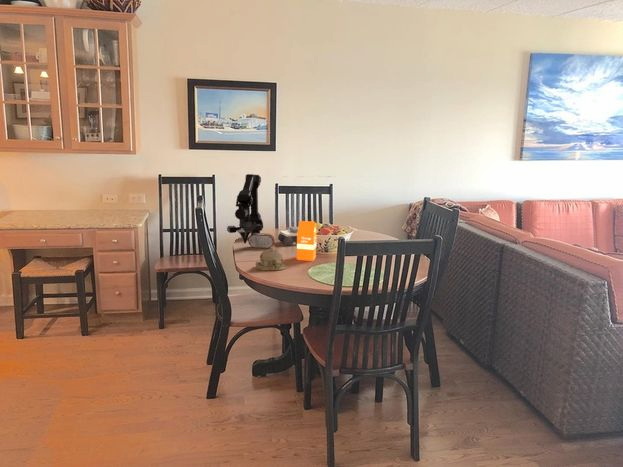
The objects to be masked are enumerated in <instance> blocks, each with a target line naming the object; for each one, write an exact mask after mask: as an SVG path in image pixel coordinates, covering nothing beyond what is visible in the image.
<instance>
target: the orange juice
mask: <svg viewBox="0 0 623 467" xmlns="http://www.w3.org/2000/svg"><path fill="white" fill-rule="evenodd" d="M297 227H298V232H297V244H296V260H299V261H307V262H313V261H315V259H316V258H317V225H316V221H309V220H307V221H306V220H299V221H298V226H297Z"/></svg>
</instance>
